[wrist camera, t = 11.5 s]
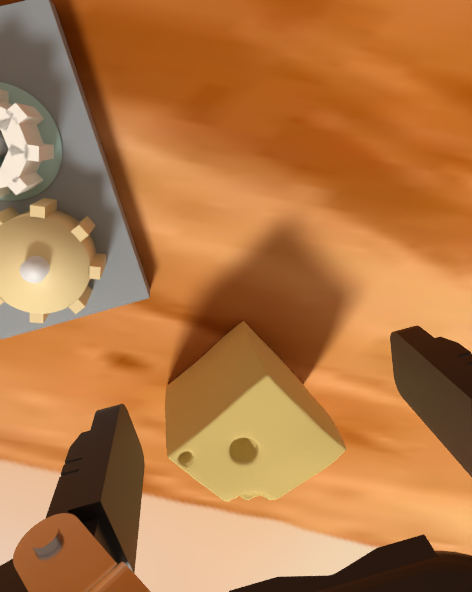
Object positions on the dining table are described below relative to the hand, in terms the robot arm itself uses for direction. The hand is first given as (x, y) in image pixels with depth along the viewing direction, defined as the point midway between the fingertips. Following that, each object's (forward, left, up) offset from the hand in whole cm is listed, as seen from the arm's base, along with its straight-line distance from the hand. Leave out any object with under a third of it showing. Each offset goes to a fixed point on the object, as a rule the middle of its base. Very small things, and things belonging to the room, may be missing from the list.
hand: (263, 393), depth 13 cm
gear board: (+11, -6, -25) cm, 28 cm away
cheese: (0, +16, -25) cm, 29 cm away
